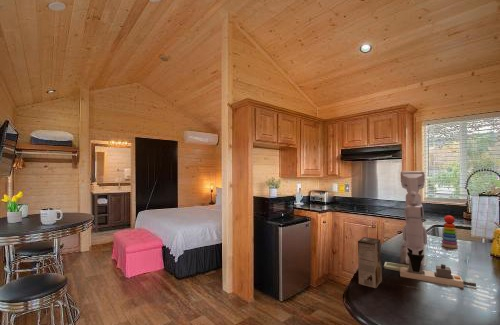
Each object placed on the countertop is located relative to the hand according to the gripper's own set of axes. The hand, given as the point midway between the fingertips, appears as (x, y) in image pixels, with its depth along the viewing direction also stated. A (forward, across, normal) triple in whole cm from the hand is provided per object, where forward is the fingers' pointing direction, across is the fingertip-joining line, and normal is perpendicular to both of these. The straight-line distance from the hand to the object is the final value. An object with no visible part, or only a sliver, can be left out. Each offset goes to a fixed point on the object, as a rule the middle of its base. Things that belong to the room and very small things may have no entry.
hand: (415, 268), depth 105 cm
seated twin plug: (+3, 0, +9) cm, 10 cm away
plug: (+3, 0, 0) cm, 3 cm away
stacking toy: (+4, -72, +18) cm, 74 cm away
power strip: (+3, 0, +7) cm, 7 cm away
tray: (+3, -8, -7) cm, 11 cm away
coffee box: (+4, +16, -15) cm, 22 cm away
